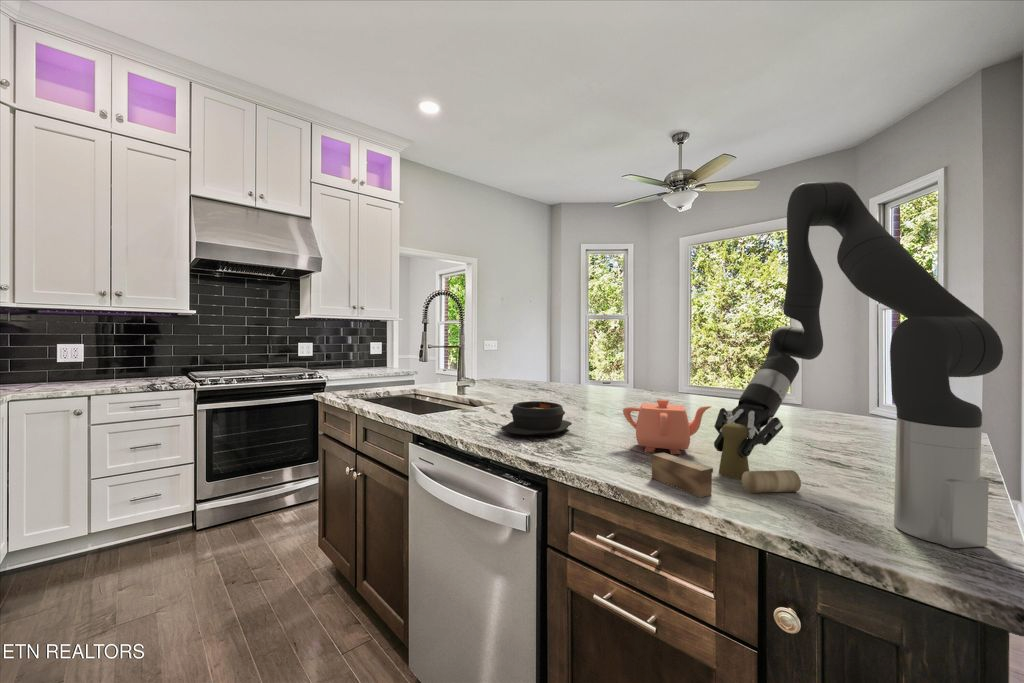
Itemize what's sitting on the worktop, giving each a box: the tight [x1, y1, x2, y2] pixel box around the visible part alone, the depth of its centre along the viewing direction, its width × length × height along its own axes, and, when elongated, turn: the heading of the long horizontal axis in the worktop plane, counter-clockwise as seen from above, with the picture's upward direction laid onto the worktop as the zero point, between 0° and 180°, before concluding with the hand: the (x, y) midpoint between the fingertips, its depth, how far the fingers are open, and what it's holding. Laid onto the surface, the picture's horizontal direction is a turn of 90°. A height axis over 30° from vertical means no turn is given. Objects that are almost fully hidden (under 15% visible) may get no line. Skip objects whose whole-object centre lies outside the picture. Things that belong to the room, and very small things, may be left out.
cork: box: [718, 423, 750, 480], centre depth 93 cm, size 6×6×11 cm
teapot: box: [622, 399, 713, 455], centre depth 113 cm, size 17×16×13 cm
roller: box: [741, 469, 802, 494], centre depth 83 cm, size 9×4×4 cm
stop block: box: [651, 452, 714, 498], centre depth 85 cm, size 12×3×5 cm, turn 27°
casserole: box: [500, 400, 573, 436], centre depth 132 cm, size 25×19×8 cm
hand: (729, 452), depth 92 cm, fingers closed on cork, 5 cm apart
